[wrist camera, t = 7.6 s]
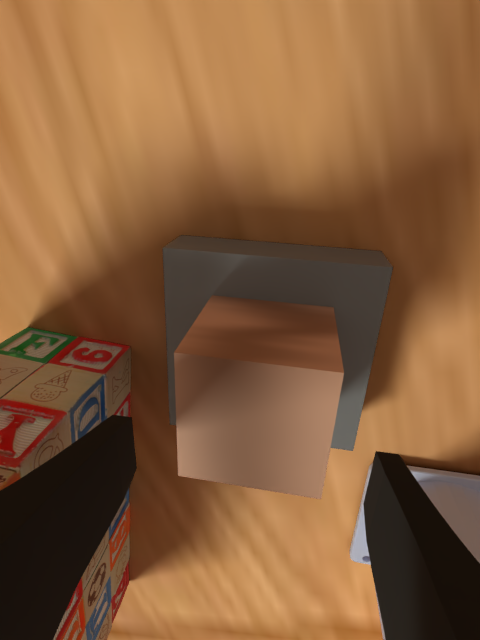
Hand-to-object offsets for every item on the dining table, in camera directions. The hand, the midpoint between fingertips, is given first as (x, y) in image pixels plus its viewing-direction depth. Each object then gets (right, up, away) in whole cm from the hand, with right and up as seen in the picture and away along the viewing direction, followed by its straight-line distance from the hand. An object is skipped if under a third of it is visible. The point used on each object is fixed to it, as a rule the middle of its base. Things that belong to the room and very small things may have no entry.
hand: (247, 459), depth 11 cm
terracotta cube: (+1, +3, +5) cm, 6 cm away
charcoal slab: (+1, +4, +8) cm, 9 cm away
